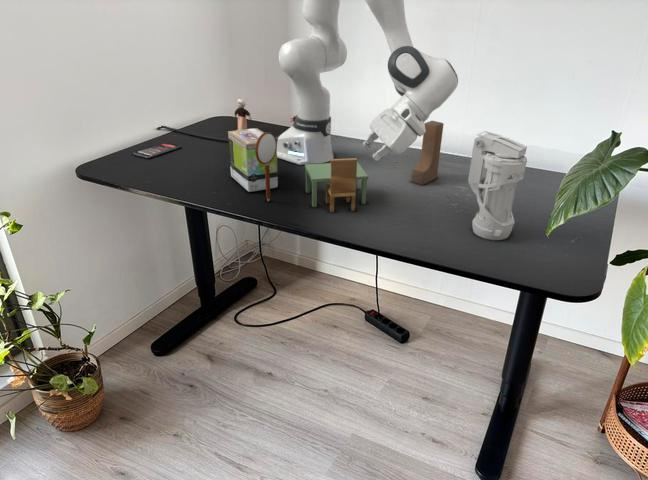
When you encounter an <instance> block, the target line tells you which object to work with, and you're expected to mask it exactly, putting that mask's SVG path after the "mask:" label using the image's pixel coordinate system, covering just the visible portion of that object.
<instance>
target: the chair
mask: <svg viewBox="0 0 648 480" xmlns="http://www.w3.org/2000/svg"><path fill="white" fill-rule="evenodd" d="M357 162H358V158H356V157H355V158H354V157H353V158H333V159H331V161H330V163H331V178H330V183H328V184H325V204H329V212H330V213H335V198H342V197H343V198H344V197H345V203H350V211H351V212H354V211H356V192H357V190H356V174H357Z"/></svg>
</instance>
